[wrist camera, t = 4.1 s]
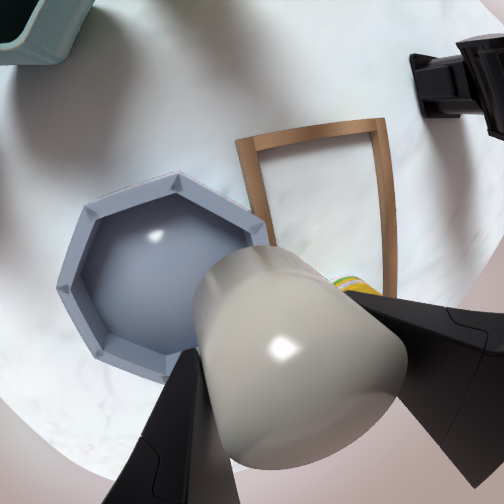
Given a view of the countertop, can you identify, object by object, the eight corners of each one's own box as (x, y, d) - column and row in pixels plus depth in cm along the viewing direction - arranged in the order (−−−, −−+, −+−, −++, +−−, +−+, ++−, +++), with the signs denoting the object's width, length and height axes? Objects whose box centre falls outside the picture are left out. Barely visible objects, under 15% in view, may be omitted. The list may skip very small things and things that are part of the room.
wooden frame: (376, 118, 20) (384, 117, 19) (389, 319, 28) (395, 323, 27) (234, 140, 18) (237, 139, 17) (286, 365, 26) (289, 371, 25)
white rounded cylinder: (305, 228, 9) (416, 291, 5) (321, 333, 11) (396, 418, 6) (173, 271, 9) (184, 388, 4) (215, 373, 10) (250, 485, 6)
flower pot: (79, 87, 14) (19, 48, 6) (-8, 84, 11) (-78, 65, 3) (127, -13, 12) (111, -86, 4) (36, -10, 9) (-6, -58, 1)
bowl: (238, 154, 19) (249, 154, 16) (277, 324, 24) (290, 346, 21) (50, 217, 16) (31, 228, 14) (123, 369, 22) (120, 395, 19)
